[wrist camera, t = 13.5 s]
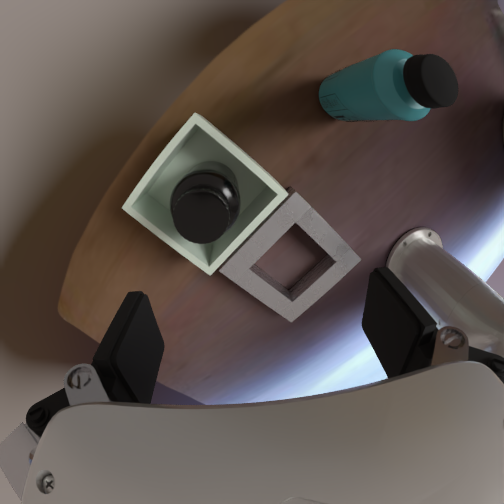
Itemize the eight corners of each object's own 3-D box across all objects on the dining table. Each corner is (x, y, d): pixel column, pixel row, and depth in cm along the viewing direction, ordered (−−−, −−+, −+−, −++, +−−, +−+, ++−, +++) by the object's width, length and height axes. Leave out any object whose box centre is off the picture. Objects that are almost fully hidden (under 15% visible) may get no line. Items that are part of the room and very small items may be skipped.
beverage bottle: (317, 123, 31) (414, 126, 13) (308, 74, 28) (396, 27, 10) (362, 120, 31) (475, 131, 13) (354, 74, 28) (462, 47, 10)
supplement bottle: (173, 196, 33) (146, 230, 22) (202, 149, 30) (186, 160, 20) (218, 223, 35) (214, 269, 24) (249, 179, 33) (259, 205, 22)
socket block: (353, 250, 39) (361, 259, 36) (287, 310, 43) (291, 322, 40) (290, 186, 34) (295, 191, 31) (219, 260, 38) (218, 270, 35)
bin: (277, 181, 34) (288, 194, 27) (213, 249, 37) (210, 275, 31) (202, 116, 29) (194, 112, 23) (140, 192, 33) (121, 208, 26)
